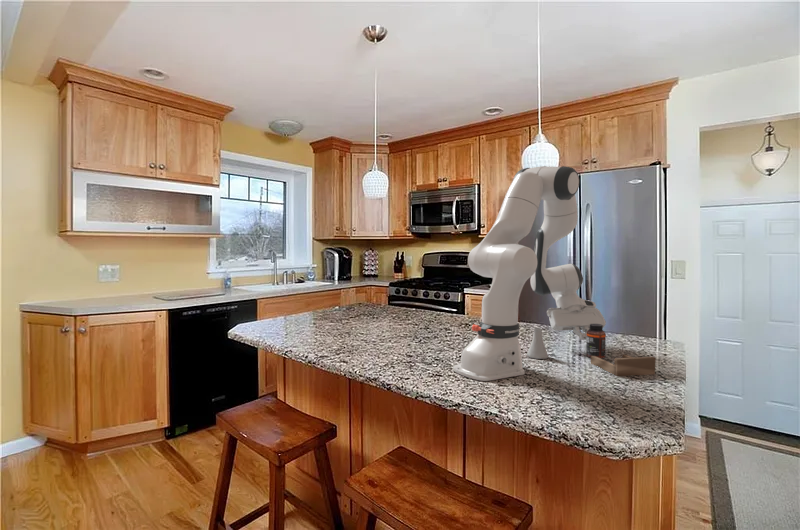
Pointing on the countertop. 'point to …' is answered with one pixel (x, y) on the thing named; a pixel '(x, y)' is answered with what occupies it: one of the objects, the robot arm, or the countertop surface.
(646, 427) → the countertop surface
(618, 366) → the walnut bay
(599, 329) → the supplement bottle
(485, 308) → the robot arm
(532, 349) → the flask
